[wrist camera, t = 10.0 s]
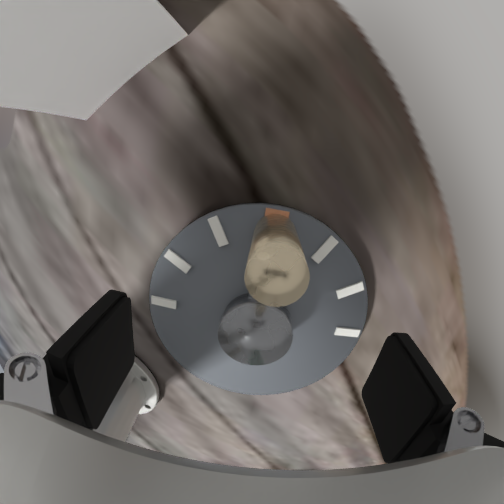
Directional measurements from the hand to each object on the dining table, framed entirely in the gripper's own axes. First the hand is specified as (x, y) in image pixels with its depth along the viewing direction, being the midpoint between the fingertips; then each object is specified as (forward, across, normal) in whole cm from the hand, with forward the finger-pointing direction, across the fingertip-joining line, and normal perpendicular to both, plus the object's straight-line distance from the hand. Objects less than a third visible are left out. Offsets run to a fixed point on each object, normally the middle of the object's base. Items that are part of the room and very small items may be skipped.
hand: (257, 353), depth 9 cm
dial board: (+15, -1, +7) cm, 17 cm away
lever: (+13, -1, +4) cm, 14 cm away
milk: (+15, +17, -17) cm, 28 cm away
